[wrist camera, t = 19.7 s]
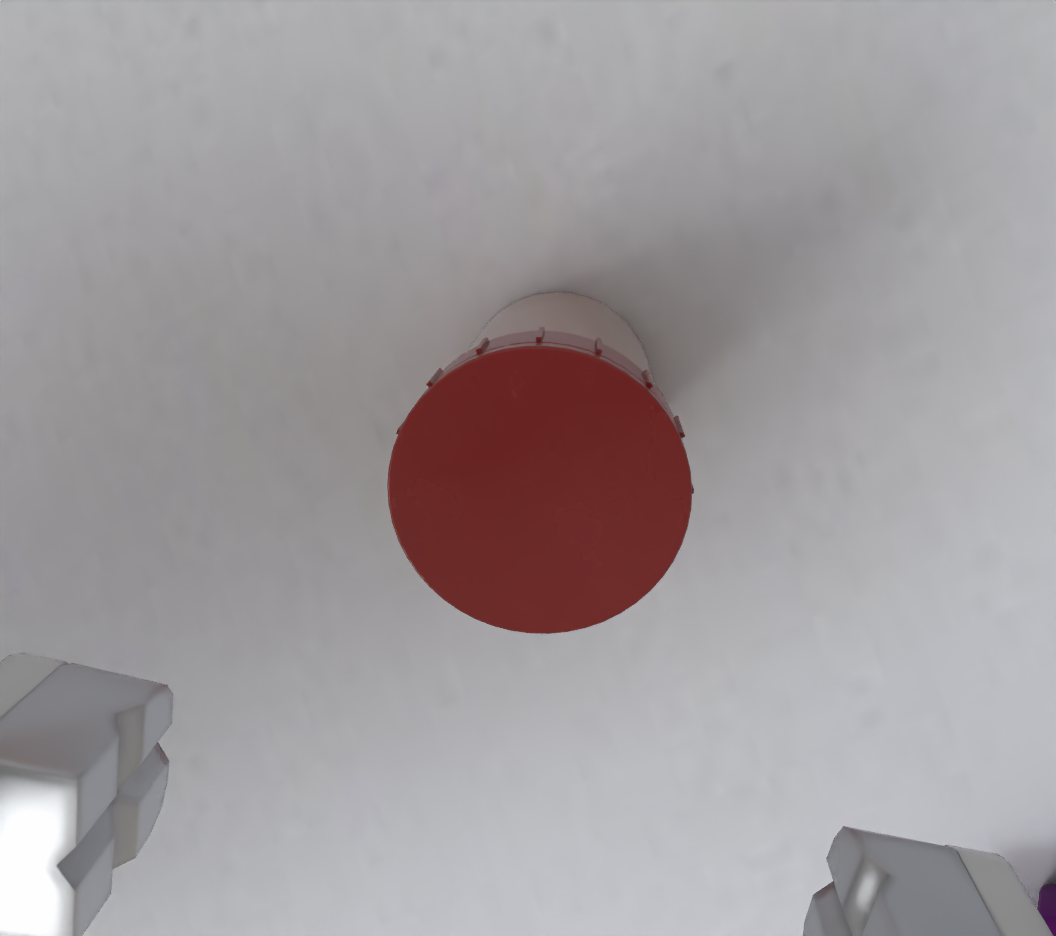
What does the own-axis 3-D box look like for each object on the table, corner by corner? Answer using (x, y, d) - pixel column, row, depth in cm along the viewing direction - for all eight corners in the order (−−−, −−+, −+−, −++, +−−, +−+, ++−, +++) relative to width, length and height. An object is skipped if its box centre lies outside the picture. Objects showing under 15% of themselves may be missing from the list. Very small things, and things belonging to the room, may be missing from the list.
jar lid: (507, 640, 21) (499, 685, 19) (348, 428, 20) (324, 454, 18) (737, 507, 20) (751, 541, 18) (583, 269, 18) (582, 280, 17)
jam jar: (532, 505, 29) (504, 658, 20) (428, 359, 28) (347, 450, 18) (685, 411, 28) (731, 528, 18) (584, 253, 26) (578, 295, 17)
